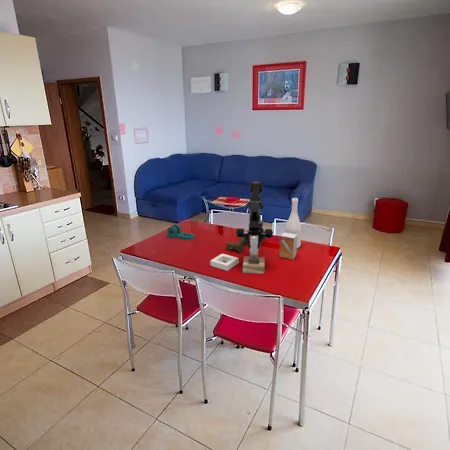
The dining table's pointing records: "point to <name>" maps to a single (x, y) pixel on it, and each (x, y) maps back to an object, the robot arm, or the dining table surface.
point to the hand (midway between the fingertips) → (253, 248)
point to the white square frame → (219, 264)
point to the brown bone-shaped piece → (236, 245)
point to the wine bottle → (294, 222)
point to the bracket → (178, 233)
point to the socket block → (253, 265)
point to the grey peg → (253, 247)
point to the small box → (288, 245)
